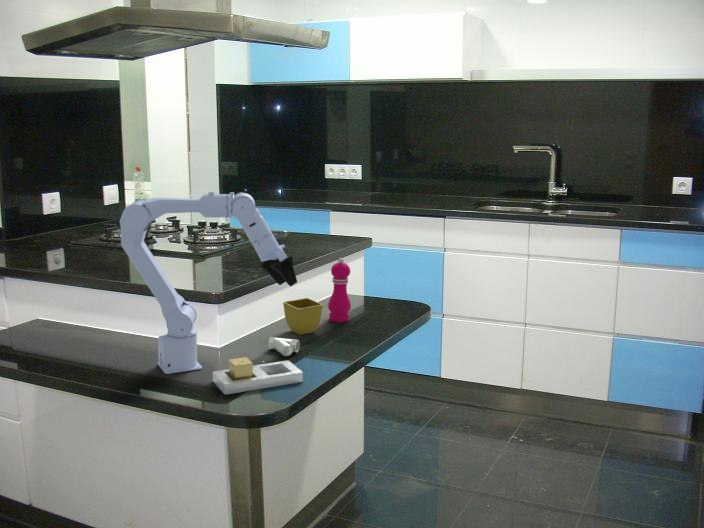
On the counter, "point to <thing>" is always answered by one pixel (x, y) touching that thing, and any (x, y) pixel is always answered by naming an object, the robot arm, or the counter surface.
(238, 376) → the wooden block
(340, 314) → the pepper mill
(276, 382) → the white block holder tray
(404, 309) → the counter surface
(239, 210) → the robot arm
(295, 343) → the pipe fitting
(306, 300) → the flower pot
